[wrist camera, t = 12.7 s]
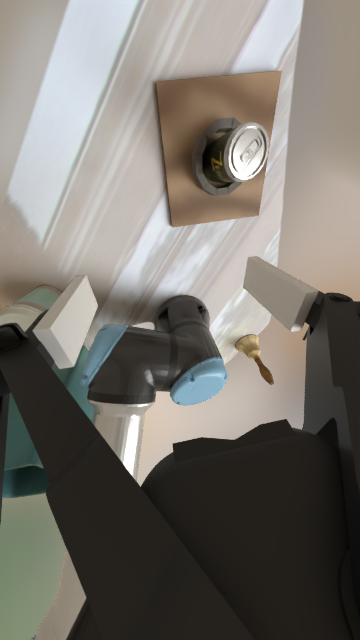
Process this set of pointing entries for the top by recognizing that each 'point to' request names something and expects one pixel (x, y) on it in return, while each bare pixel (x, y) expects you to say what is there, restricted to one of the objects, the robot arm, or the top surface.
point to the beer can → (237, 154)
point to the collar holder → (201, 130)
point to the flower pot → (21, 455)
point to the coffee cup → (30, 306)
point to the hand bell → (254, 354)
